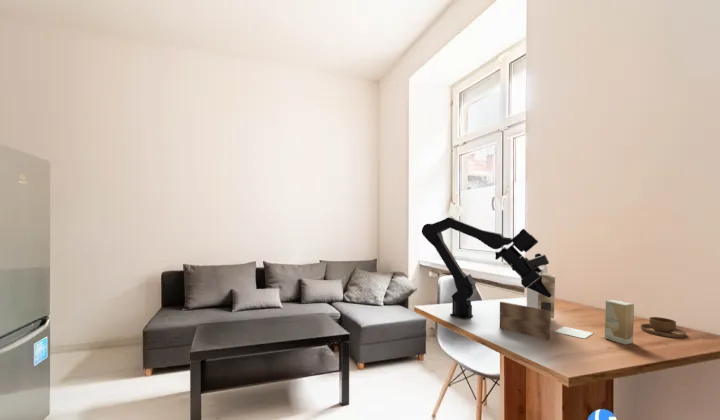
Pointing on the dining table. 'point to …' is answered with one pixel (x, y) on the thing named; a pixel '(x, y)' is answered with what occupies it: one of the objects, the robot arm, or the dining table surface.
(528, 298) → the milk
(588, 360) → the dining table surface
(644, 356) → the dining table surface
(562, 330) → the mat
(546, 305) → the wooden block
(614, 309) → the skincare box
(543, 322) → the screen
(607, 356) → the dining table surface
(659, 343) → the dining table surface
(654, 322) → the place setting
